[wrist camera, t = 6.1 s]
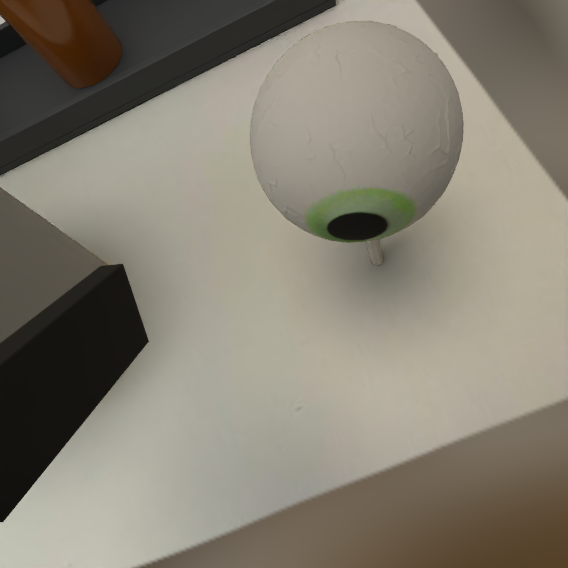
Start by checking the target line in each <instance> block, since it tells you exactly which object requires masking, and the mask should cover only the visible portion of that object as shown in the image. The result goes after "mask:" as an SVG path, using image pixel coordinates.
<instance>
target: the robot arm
mask: <svg viewBox="0 0 568 568" xmlns="http://www.w3.org/2000/svg"><path fill="white" fill-rule="evenodd" d="M148 342H149V341H148V338H147V335H146V332H145V329H144V326H143V323H142V320H141V317H140V314H139V311H138V308H137V305H136V302H135V299H134V296H133V293H132V290H131V287H130V284H129V281H128V278H127V275H126V272H125V269H124V266H123V264H117V265H104V266H100V267H99V268H97V269H96V270H95V271H93V272H92V273H91V274H89V275H88V276H87V277H86V278H84V279H83V280H82V281H80V282H79V283H78V284H76V285H75V286H74V287H72V288H71V289H70V290H69V291H67V292H66V293H65V294H63V295H62V296H61V297H59V298H58V299H57V300H56V301H54V302H53V303H52V304H50V305H49V306H48V307H46V308H45V309H44V310H43V311H41V312H40V313H39V314H37V315H36V316H35V317H33V318H32V319H31V320H30V321H28V322H27V323H26V324H24V325H23V326H22V327H20V328H19V329H18V330H17V331H15V332H14V333H13V334H11V335H10V336H9V337H7V338H6V339H5V340H4V341H2V342H1V343H0V522H3V521H4V520H5V519H6V518H7V516H8V515H9V514H10V513H11V511H12V510H13V509H14V508H15V507H16V505H17V504H18V503H19V502H20V500H21V499H22V498H23V497H24V495H25V494H26V493H27V492H28V490H29V489H30V488H31V487H32V485H33V484H34V483H35V482H36V481H37V479H38V478H39V477H40V476H41V474H42V473H43V472H44V471H45V469H46V468H47V467H48V466H49V464H50V463H51V462H52V461H53V459H54V458H55V457H56V456H57V454H58V453H59V452H60V451H61V450H62V448H63V447H64V446H65V445H66V443H67V442H68V441H69V440H70V438H71V437H72V436H73V435H74V433H75V432H76V431H77V430H78V428H79V427H80V426H81V425H82V424H83V422H84V421H85V420H86V419H87V417H88V416H89V415H90V414H91V412H92V411H93V410H94V409H95V407H96V406H97V405H98V404H99V402H100V401H101V400H102V399H103V397H104V396H105V395H106V394H107V393H108V391H109V390H110V389H111V388H112V386H113V385H114V384H115V383H116V381H117V380H118V379H119V378H120V376H121V375H122V374H123V373H124V371H125V370H126V369H127V368H128V367H129V365H130V364H131V363H132V362H133V360H134V359H135V358H136V357H137V355H138V354H139V353H140V352H141V350H142V349H143V348H144V347H145V345H146V344H147V343H148Z"/></svg>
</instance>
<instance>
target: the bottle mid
mask: <svg viewBox="0 0 568 568" xmlns="http://www.w3.org/2000/svg"><path fill="white" fill-rule="evenodd" d="M0 16H1V17H2V18H3V19H4V20H5V21H6V22H7V23H8V24H9V25H10V26H11V27H12V28H13V29H14V30H15V31H16V32H17V33H18V35H19V36H20V37H21V38H22V39H23V40H24V41H25V42H26V43H27V44H28V45H29V46H30V47H31V48H32V49H33V50H34V51H35V52H36V53H37V54H38V55H39V56H40V57H41V59H42V60H43V61H44V62H45V63H46V64H47V65H48V66H49V67H50V68H51V69H52V70H53V71H54V72H55V73H56V74H57V75H58V76H59V77H60V78H61V79H62V80H63V82H64V83H65V84H67V85H68V86H71V87H74V88H86V87H90V86H93V85H95V84H97V83H99V82H101V81H102V80H104V79H105V78H106V77H107V76H108V75H109V74H110V73H111V72H112V71H113V70H114V69H115V67H116V66H117V64H118V62H119V60H120V58H121V54H122V44H121V41H120V39H119V37H118V36H117V35H116V33H115V32H114V30H113V29H112V28H111V26H110V25H109V23H108V22H107V21H106V19H105V18H104V17H103V15H102V14H101V12H100V11H99V10H98V8H97V7H96V5H95V4H94V3H93V1H92V0H0Z"/></svg>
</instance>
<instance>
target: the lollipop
mask: <svg viewBox="0 0 568 568" xmlns="http://www.w3.org/2000/svg"><path fill="white" fill-rule="evenodd" d="M462 142H463V113H462V108H461V103H460V99H459V93H458V91H457V88H456V86H455V84H454V81H453V79H452V77H451V75H450V74H449V72H448V70H447V68H446V67H445V65H444V64H443V62H442V61H441V60H440V58H439V57H438V55H437V53H434V52H433V51H432V50H431V49H430V48H429V47H428V46H427V44H425V43H423V42H422V41H421V40H419V39H418V38H416V37H415V36H413V35H411V34H409V33H408V32H406V31H403V30H401V29H399V28H397V27H396V26H393V25H390V24H383V23H378V22H373V21H353V22H345V23H337V24H335V25H331V26H327V27H324V28H323V29H321V30H318V31H316V32H314V33H312V34H309V35H307V36H306V37H304V38H303V39H301V40H300V41H299V42H298V43H297V44H295V45H294V46H293V47H291V48H290V49H289V50H288V51H287V52H286V53H285V54H284V55H283V56H282V57H281V58H280V59H279V60H278V61H277V63H276V64H275V65H274V67H273V68H272V70H271V71H270V72H269V74H268V75H267V77H266V79H265V81H264V82H263V84H262V86H261V88H260V91H259V94H258V96H257V99H256V102H255V105H254V108H253V113H252V119H251V130H250V145H251V154H252V160H253V164H254V168H255V171H256V174H257V177H258V180H259V182H260V184H261V186H262V188H263V190H264V192H265V193H266V195H267V197H268V198H269V200H270V201H271V202H272V204H273V205H274V206H275V207H276V208H277V209H278V210H279V211H280V212H281V214H282V215H283V216H284V217H285V218H286V219H287V220H289V221H290V222H292V223H293V224H295V225H296V226H298V227H299V228H301V229H303V230H304V231H306V232H308V233H311V234H313V235H315V236H318V237H321V238H324V239H328V240H332V241H339V242H349V243H351V242H367V245H368V250H369V254H370V258H371V263H373V264H374V265H375V266H377V265H381V264H382V262H383V257H382V251H381V245H380V239H381V238H384V237H387V236H390V235H392V234H395V233H397V232H399V231H401V230H403V229H405V228H406V227H408V226H410V225H411V224H413V223H414V222H416V221H417V220H419V219H420V218H422V217H423V216H424V215H425V214H426V213H427V212H428V211H429V210H430V209H431V208H432V206H433V205H435V203H436V201H437V200H438V199H439V198H440V197H441V195H442V194H443V192H444V191H445V189H446V188H447V186H448V184H449V182H450V180H451V178H452V176H453V174H454V171H455V168H456V166H457V163H458V160H459V156H460V152H461V146H462Z"/></svg>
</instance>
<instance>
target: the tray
mask: <svg viewBox="0 0 568 568" xmlns="http://www.w3.org/2000/svg"><path fill="white" fill-rule="evenodd" d="M92 1H93V3H94V4H95V5H96V7H97V8H98V10H99V11H100V12H101V14H102V15H103V17H104V18H105V19H106V21H107V22H108V23H109V25H110V26H111V28H112V29H113V30H114V32H115V33H116V35H117V36H118V37H119V39H120V41H121V44H122V54H121V58H120V60H119V62H118V64H117V66H116V67H115V69H114V70H113V71H112V72H111V73H110V74H109V75H108V76H107V77H106V78H105V79H104V80H102V81H101V82H99V83H97V84H95V85H93V86H90V87H86V88H74V87H71V86H68V85H67V84H65V83H64V82H63V80H62V79H61V78H60V77H59V76H58V75H57V74H56V73H55V72H54V71H53V70H52V69H51V68H50V67H49V66H48V65H47V64H46V63H45V62H44V61H43V60H42V59H41V57H40V56H39V55H38V54H37V53H36V52H35V51H34V50H33V49H32V48H31V47H30V46H29V45H28V44H27V43H26V42H25V41H24V40H23V39H22V38H21V37H20V36H19V35H18V33H17V32H16V31H15V30H14V29H13V28H12V27H11V26H10V25H9V24H8V23H7V22H4V23H3V24H1V25H0V175H1V174H3V173H5V172H7V171H9V170H11V169H13V168H15V167H17V166H19V165H21V164H23V163H25V162H27V161H28V160H30V159H32V158H34V157H36V156H38V155H40V154H42V153H44V152H46V151H48V150H50V149H52V148H54V147H56V146H58V145H60V144H62V143H64V142H66V141H68V140H70V139H72V138H74V137H76V136H78V135H80V134H82V133H84V132H86V131H88V130H90V129H92V128H94V127H96V126H98V125H100V124H102V123H103V122H105V121H107V120H109V119H111V118H113V117H115V116H117V115H119V114H121V113H123V112H125V111H127V110H129V109H131V108H133V107H135V106H137V105H139V104H141V103H143V102H145V101H147V100H149V99H151V98H153V97H155V96H157V95H159V94H161V93H163V92H165V91H167V90H169V89H171V88H173V87H175V86H177V85H178V84H180V83H182V82H184V81H186V80H188V79H190V78H192V77H194V76H196V75H198V74H200V73H202V72H204V71H206V70H208V69H210V68H212V67H214V66H216V65H218V64H220V63H222V62H224V61H226V60H228V59H230V58H232V57H234V56H236V55H238V54H240V53H242V52H244V51H246V50H248V49H250V48H251V47H253V46H255V45H257V44H259V43H261V42H263V41H265V40H267V39H269V38H271V37H273V36H275V35H277V34H279V33H281V32H283V31H285V30H287V29H289V28H291V27H293V26H295V25H297V24H299V23H301V22H303V21H305V20H307V19H309V18H311V17H313V16H315V15H317V14H319V13H321V12H323V11H325V10H326V9H328V8H330V7H332V6H334V5H336V1H335V0H92Z"/></svg>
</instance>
